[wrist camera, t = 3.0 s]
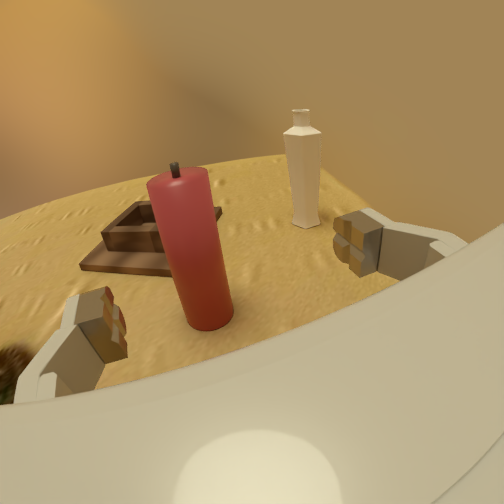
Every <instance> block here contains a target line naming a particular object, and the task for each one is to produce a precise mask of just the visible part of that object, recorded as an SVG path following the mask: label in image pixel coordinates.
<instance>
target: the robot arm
mask: <svg viewBox="0 0 504 504" xmlns="http://www.w3.org/2000/svg"><path fill="white" fill-rule="evenodd" d="M333 229H334V230H335V232H336V235H335V237H334V239H333V248H334V252H335V254H336V256H337V258H338V259H339V260H340V261H341V262H343V263H347V264H349V269H350V270H351V271H353V272H354V273H355V274H356V275H357V276H358V277H359V278H361V277H363V276H366V275H368V274H371V273H374V272H376V271H378V272H379V273H382V274H384V275H387V276H389V277H392V278H395V279H397V280H400V282H398V283H396V284H394V285H392V286H390V287H388V288H386V289H384V290H381V291H379V292H377V293H375V294H373V295H371V296H369V297H367V298H364V299H362V300H360V301H358V302H356V303H353V304H351V305H349V306H347V307H344V308H342V309H340V310H338V311H335V312H333V313H331V314H328V315H326V316H324V317H321V318H319V319H317V320H314V321H312V322H309V323H307V324H304V325H302V326H300V327H297V328H295V329H292V330H289V331H287V332H284V333H282V334H279V335H276V336H274V337H271V338H268V339H266V340H263V341H260V342H258V343H255V344H252V345H249V346H246V347H244V348H241V349H238V350H235V351H232V352H229V353H226V354H223V355H220V356H217V357H214V358H211V359H208V360H205V361H201V362H198V363H195V364H192V365H188V366H185V367H182V368H178V369H175V370H171V371H168V372H164V373H161V374H157V375H154V376H150V377H146V378H142V379H138V380H135V381H131V382H127V383H123V384H118V385H114V386H110V387H105V388H101V389H96V390H94V388H95V386H96V384H97V382H98V380H99V378H100V376H101V374H102V372H103V370H104V368H105V364H108V363H111V362H115V361H118V360H122V359H125V358H128V354H127V342H126V340H125V339H124V336H125V335H126V324H125V320H124V317H123V314H122V312H121V310H120V308H119V306H117V305H115V304H113V301H114V296H113V294H112V292H111V290H110V288H108V287H107V286H106V287H102V288H99V289H95V290H92V291H88V292H85V293H82V294H78V295H75V296H72V297H69V298H68V299H67V300H66V305H65V309H64V313H63V317H62V322H61V326H60V329H59V330H56V331H55V332H54V334H53V335H52V336H51V337H50V338H49V340H48V341H47V342H46V343H45V345H44V346H43V347H42V348H41V350H40V351H39V352H38V353H37V355H36V356H35V357H34V358H33V360H32V361H31V362H30V363H29V365H28V366H27V367H26V369H25V370H24V371H23V373H22V374H21V375H20V377H19V378H18V382H17V387H16V393H15V398H14V404H8V405H0V504H504V223H502V224H501V225H499V226H498V227H496V228H494V229H493V230H491V231H490V232H488V233H486V234H485V235H483V236H482V237H480V238H478V239H477V240H475V241H473V242H471V243H470V244H468V243H467V242H465V241H463V240H462V239H460V238H459V237H457V236H455V235H454V234H452V233H449V232H445V231H440V230H435V229H430V228H426V227H421V226H416V225H410V224H406V223H400V222H397V223H395V222H393V221H392V220H390V219H388V218H386V217H385V216H383V215H381V214H380V213H378V212H376V211H375V210H373V209H371V208H364V209H361V210H358V211H355V212H352V213H349V214H346V215H343V216H340V217H337V218H335V219H334V222H333Z"/></svg>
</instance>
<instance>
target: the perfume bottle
mask: <svg viewBox="0 0 504 504" xmlns="http://www.w3.org/2000/svg"><path fill="white" fill-rule="evenodd" d="M309 111H310V110H307V109H299V110H293V111H292V112H293V119H294V126H293V127H292V128H291V129H289V130H288V131H286V132H284V133H283V137H284V144H285V150H286V157H287V164H288V171H289V178H290V185H291V192H292V200H293V207H294V216H293V220H292V224H294V225H296V226H299V227H302V228H304V229H307V228H310V227H313V226H316V225H320V224H321V223H320V220H319V216H318V201H319V184H320V162H321V132H319V131H318V130H316V129H314V128H313V127H311V126H310V122H309Z"/></svg>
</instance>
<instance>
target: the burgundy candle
mask: <svg viewBox="0 0 504 504" xmlns="http://www.w3.org/2000/svg"><path fill="white" fill-rule="evenodd" d="M170 169H171V171H168V172H165V173H162V174H160V175H157V176H155V177H154V178H152V179H150V180H149V181H148V182H147V184H146V185H147V190H148V193H149V197H150V201H151V205H152V209H153V213H154V216H155V220H156V223H157V227H158V231H159V234H160V238H161V241H162V244H163V248H164V251H165V254H166V258H167V261H168V264H169V267H170V271H171V274H172V277H173V280H174V283H175V286H176V289H177V292H178V295H179V298H180V301H181V304H182V307H183V310H184V313H185V316H186V318H187V321H188V323H189V325H190V326H191V327H193V328H195V329H197V330H201V331H212V330H216V329H219V328H221V327H223V326H224V325H226V324H227V323H228V322H229V321H230V320H231V318H232V316H233V305H232V300H231V295H230V290H229V285H228V280H227V275H226V270H225V265H224V260H223V255H222V249H221V244H220V239H219V233H218V228H217V222H216V217H215V211H214V206H213V200H212V194H211V189H210V183H209V177H208V171H207V169H205V168H202V167H187V168H180V169H179V165H178V162H174V163H171V164H170Z"/></svg>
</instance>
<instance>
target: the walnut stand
mask: <svg viewBox="0 0 504 504" xmlns="http://www.w3.org/2000/svg"><path fill="white" fill-rule="evenodd" d="M214 211H215V217H216V221H217V220H218V218H219V217H220V215H221V214H222V209H221V207H214ZM101 235H102V237H103V240H102V241H101V242H100V243H99V244H98V245H97V246H96V247H95V248H94V249H93V250H92V251H91V252H90V253H89V254H88V255H87V256H86V257H85V258H84V259H83V260H82V261H81V262H80V263H79V266H80V268H81V270H87V271H99V272H111V273H124V274H137V275H152V276H167V277H172V274H171V271H170V267H169V264H168V261H167V258H166V254H165V251H164V248H163V244H162V241H161V238H160V234H159V231H158V227H157V223H156V220H155V216H154V213H153V209H152V205H151V201H138V202H135V203H133V204H132V205H131V206H130V207H129V208H128V209H126V210H125V211H124V212H123V213H122V214H121V215H119V216H118V217H117V218H116V219H115V220H114V221H113V222H112V223H110V224H109V225H108V226H107V227H106V228H105V229H104V230H103V231H102V232H101Z"/></svg>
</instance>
